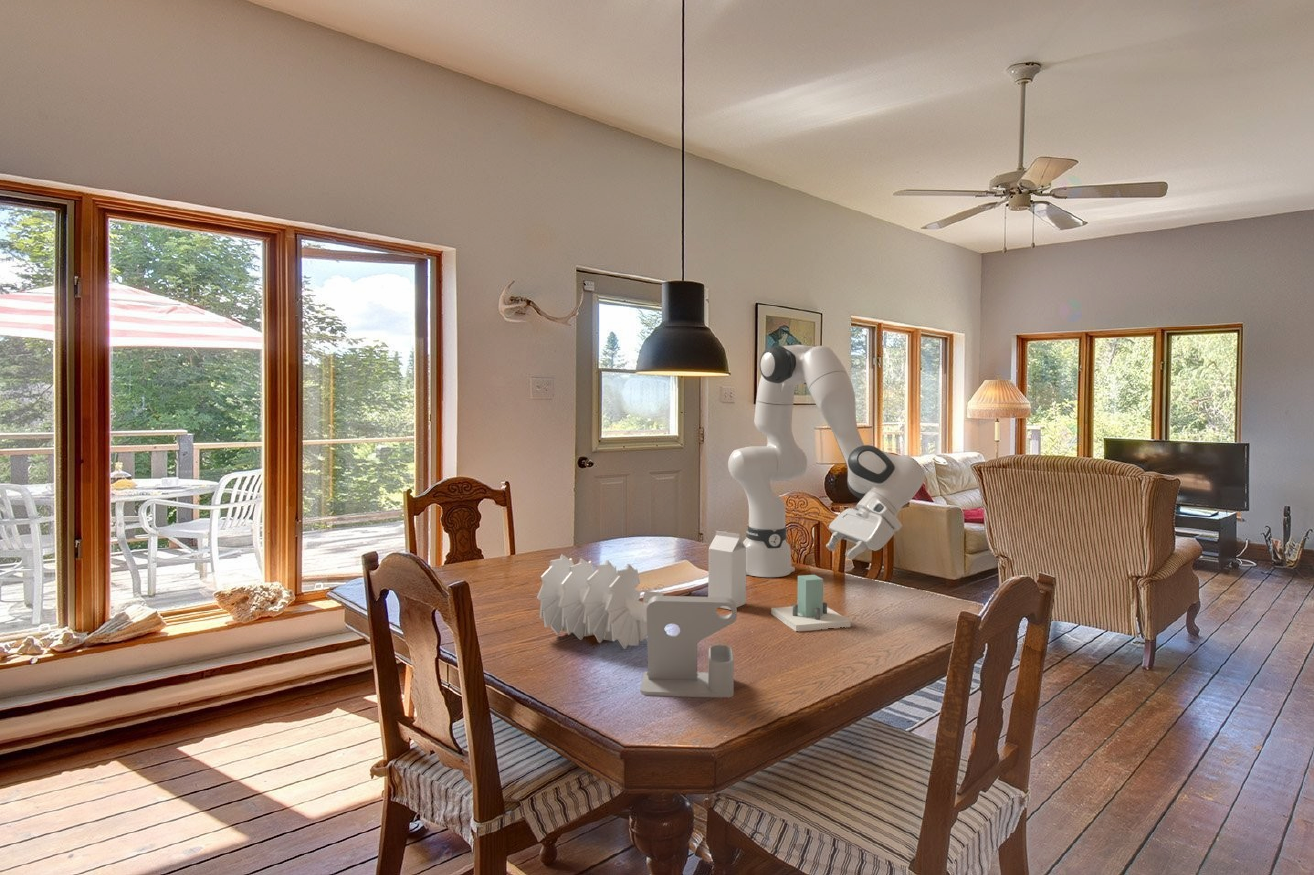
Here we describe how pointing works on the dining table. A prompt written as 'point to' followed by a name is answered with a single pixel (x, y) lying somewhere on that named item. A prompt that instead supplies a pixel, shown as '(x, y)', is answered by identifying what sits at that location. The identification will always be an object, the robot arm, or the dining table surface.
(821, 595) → the block
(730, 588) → the milk carton
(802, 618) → the peg board
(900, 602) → the dining table surface
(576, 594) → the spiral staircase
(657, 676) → the grey mounting bracket
